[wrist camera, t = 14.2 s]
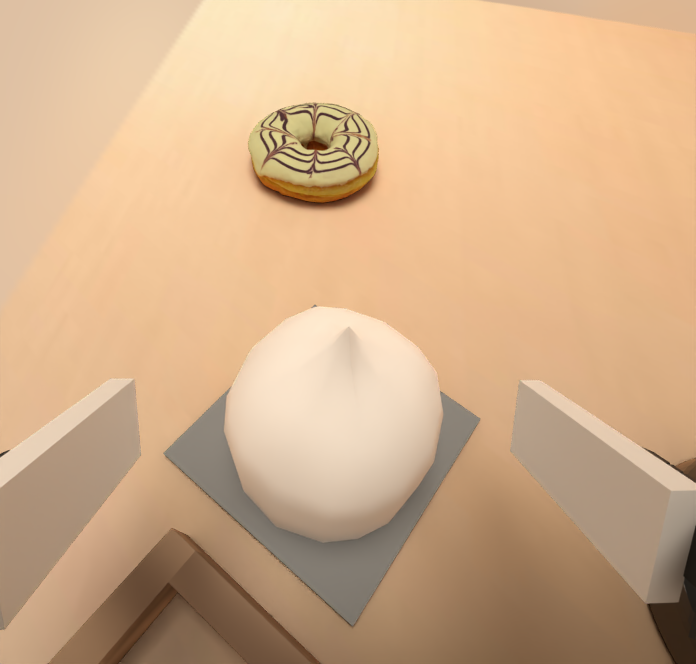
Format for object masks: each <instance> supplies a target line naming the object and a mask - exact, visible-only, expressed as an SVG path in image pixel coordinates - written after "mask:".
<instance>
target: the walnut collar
mask: <svg viewBox="0 0 696 664" xmlns="http://www.w3.org/2000/svg"><path fill="white" fill-rule="evenodd" d="M177 593H179V594H180V595H181V596H182V597H183V598H184V599H185V600H186V601H187V602H188V603H189V604H190V605H191V606H192V607H193V608H194V609H195V610H196V611H197V612H198V613H199V614H200V615H201V616H202V617H203V618H204V619H205V620H206V621H207V622H208V623H209V624H210V625H211V626H212V627H213V628H214V629H215V630H216V631H217V633H218V634H219V635H220V636H221V637H222V638H223V639H224V640H225V641H226V642H227V643H228V644H229V645H230V646H231V647H232V648H233V649H234V650H235V651H236V652H237V653H238V654H239V655H240V656H241V657H242V658H243V659H244V660H245V661H246V662H247V663H248V664H320V663H319V662H318V661H317V660H316V659H315V658H314V657H313V656H312V655H311V654H310V653H309V652H308V651H307V650H306V649H305V648H304V647H303V646H302V645H301V644H300V643H299V642H298V641H297V640H296V639H295V638H294V637H292V636H291V635H290V634H289V633H288V632H287V631H286V630H285V629H284V628H283V627H282V626H281V625H280V624H279V623H278V622H277V621H276V620H275V619H274V618H273V617H272V616H271V615H270V614H269V613H268V612H267V611H266V610H264V609H263V608H262V607H261V606H260V605H259V604H258V603H257V602H256V601H255V600H254V599H253V598H252V597H251V596H250V595H249V594H248V593H247V592H246V591H245V590H244V589H243V588H242V587H241V586H240V585H239V584H238V583H236V582H235V581H234V580H233V579H232V578H231V577H230V576H229V575H228V574H227V573H226V572H225V571H224V570H223V569H222V568H221V567H220V566H219V565H218V564H217V563H216V562H215V561H214V560H213V559H212V558H211V557H210V556H209V555H207V554H206V553H205V552H204V551H203V550H202V549H201V548H200V547H199V546H198V545H197V544H196V543H195V542H194V541H193V540H192V539H191V538H190V537H189V536H188V535H186V534H184V533H181V532H179V531H177V530H175V529H173V528H171V530H170V531H169V532H168V533H167V534H166V535H165V536H164V537H163V538H162V539H161V541H160V542H159V543H158V544H157V545H156V546H155V547H154V548H153V549H152V550H151V551H150V553H149V554H148V555H147V556H146V557H145V558H144V559H143V560H142V561H141V562H140V563H139V565H138V566H137V567H136V568H135V569H134V570H133V571H132V572H131V573H130V574H129V576H128V577H127V578H126V579H125V580H124V581H123V582H122V583H121V584H120V585H119V586H118V588H117V589H116V590H115V591H114V592H113V593H112V594H111V595H110V596H109V597H108V599H107V600H106V601H105V602H104V603H103V604H102V605H101V606H100V607H99V608H98V609H97V611H96V612H95V613H94V614H93V615H92V616H91V617H90V618H89V619H88V620H87V621H86V623H85V624H84V625H83V626H82V627H81V628H80V629H79V630H78V631H77V632H76V634H75V635H74V636H73V637H72V638H71V639H70V640H69V641H68V642H67V643H66V644H65V646H64V647H63V648H62V649H61V650H60V651H59V652H58V653H57V654H56V655H55V656H54V658H53V659H52V660H51V661H50V662H49V663H48V664H118V663H119V662H120V661H121V659H122V658H123V657H124V656H125V655H126V653H127V652H128V651H129V650H130V649H131V648H132V646H133V645H134V644H135V643H136V642H137V640H138V639H139V638H140V637H141V636H142V634H143V633H144V632H145V631H146V630H147V628H148V627H149V626H150V625H151V624H152V622H153V621H154V620H155V619H156V618H157V617H158V615H159V614H160V613H161V612H162V611H163V609H164V608H165V607H166V606H167V605H168V603H169V602H170V601H171V600H172V599H173V597H174V596H175V595H176V594H177Z"/></svg>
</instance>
